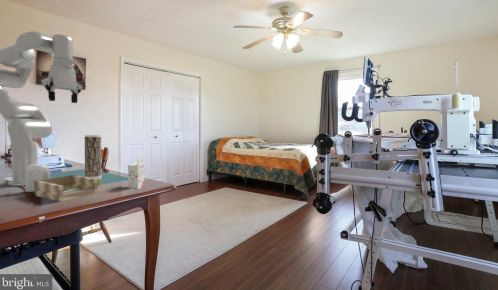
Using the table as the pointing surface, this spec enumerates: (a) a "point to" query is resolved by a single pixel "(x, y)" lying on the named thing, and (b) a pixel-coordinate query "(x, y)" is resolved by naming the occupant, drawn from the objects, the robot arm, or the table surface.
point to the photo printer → (35, 175)
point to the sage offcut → (71, 190)
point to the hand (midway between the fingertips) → (63, 101)
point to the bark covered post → (93, 157)
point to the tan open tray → (65, 187)
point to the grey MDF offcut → (75, 191)
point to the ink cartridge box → (136, 174)
